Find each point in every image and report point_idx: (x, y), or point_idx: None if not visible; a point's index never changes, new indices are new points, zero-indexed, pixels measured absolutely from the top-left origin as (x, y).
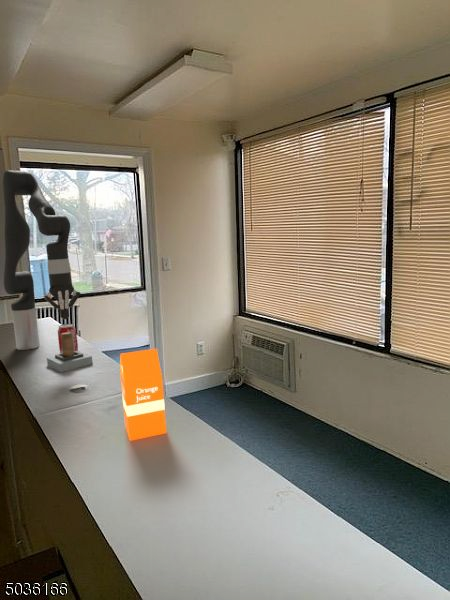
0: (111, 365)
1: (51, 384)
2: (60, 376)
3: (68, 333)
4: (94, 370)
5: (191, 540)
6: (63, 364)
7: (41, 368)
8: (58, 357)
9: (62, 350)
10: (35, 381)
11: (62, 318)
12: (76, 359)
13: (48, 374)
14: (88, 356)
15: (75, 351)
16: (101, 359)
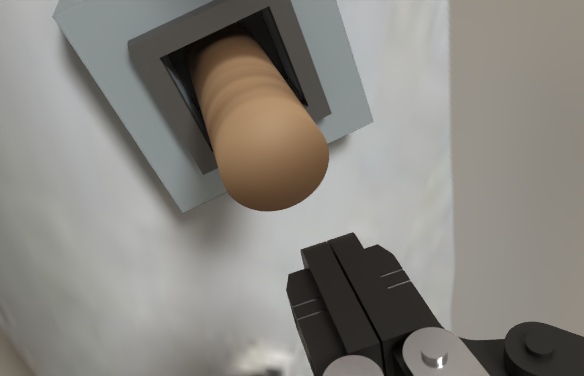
0: (429, 167)
1: (148, 325)
2: (180, 243)
3: (296, 169)
4: (343, 211)
5: None
6: (200, 201)
7: (23, 50)
8: (162, 104)
9: (201, 110)
10: (55, 275)
11: (301, 252)
12: None
13: (106, 193)
14: (354, 121)
15: (288, 18)
16: (417, 28)
